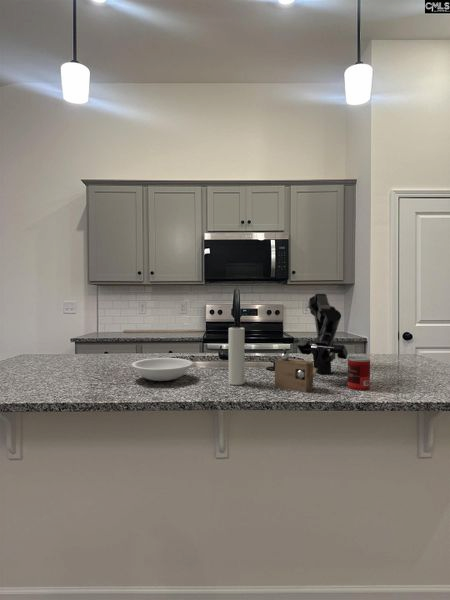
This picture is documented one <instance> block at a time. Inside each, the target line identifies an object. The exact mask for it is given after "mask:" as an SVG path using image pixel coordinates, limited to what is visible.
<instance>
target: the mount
mask: <svg viewBox="0 0 450 600" xmlns="http://www.w3.org/2000/svg"><path fill="white" fill-rule="evenodd" d="M313 366H314V361H311V360H305V359H295V358H289V360H288V361H282V360H281V358H278V359H275V360H274V388H277V389H278V388H279V389H284V390H289V391H296V392H300V393H308V392H310V391H312V390H314V377H313ZM299 370H305V377H304V378H301V379H300V378H298V377H297V375H296V373H297V371H299Z"/></svg>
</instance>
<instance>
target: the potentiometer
mask: <svg viewBox="0 0 450 600" xmlns="http://www.w3.org/2000/svg"><path fill="white" fill-rule="evenodd" d="M280 357H281V360H282V361H288V360H289V359H290V357H289V353H288V352H287V348H283V352H281V355H280Z"/></svg>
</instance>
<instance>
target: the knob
mask: <svg viewBox="0 0 450 600" xmlns="http://www.w3.org/2000/svg"><path fill="white" fill-rule="evenodd" d="M316 374H317V373H316V368H315V367H314V365H313V378H315V377H316ZM296 375H297V377H298V378H300V379H301V378H304V377H305V370H299V371H297V373H296Z"/></svg>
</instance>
